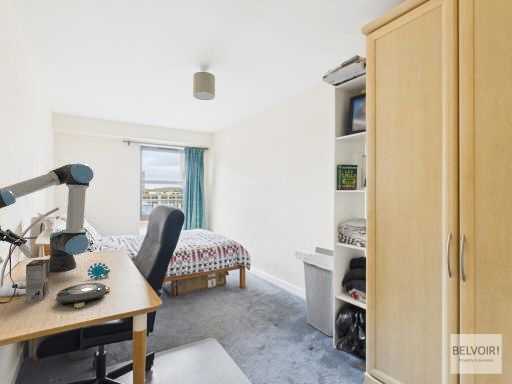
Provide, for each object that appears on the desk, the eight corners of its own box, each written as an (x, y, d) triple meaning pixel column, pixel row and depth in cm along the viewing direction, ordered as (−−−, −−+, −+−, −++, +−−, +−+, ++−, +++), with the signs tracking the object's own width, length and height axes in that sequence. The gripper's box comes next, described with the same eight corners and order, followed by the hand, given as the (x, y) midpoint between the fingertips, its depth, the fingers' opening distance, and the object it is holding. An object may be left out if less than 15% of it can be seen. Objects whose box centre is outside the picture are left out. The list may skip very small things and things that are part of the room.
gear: (84, 277, 143) (90, 261, 150) (85, 283, 147) (90, 266, 154) (107, 278, 147) (112, 262, 154) (107, 283, 150) (112, 268, 157)
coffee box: (32, 294, 123) (33, 259, 123) (49, 292, 126) (50, 258, 126) (24, 302, 115) (25, 264, 115) (43, 300, 117) (43, 263, 117)
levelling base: (74, 289, 130) (74, 280, 130) (115, 290, 129) (116, 281, 129) (37, 307, 109) (37, 296, 109) (85, 309, 108) (86, 298, 108)
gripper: (7, 227, 134) (35, 258, 133) (-54, 235, 109) (-20, 272, 108) (17, 217, 134) (45, 247, 133) (-41, 222, 109) (-7, 260, 108)
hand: (16, 259), depth 121 cm, fingers open, 13 cm apart
